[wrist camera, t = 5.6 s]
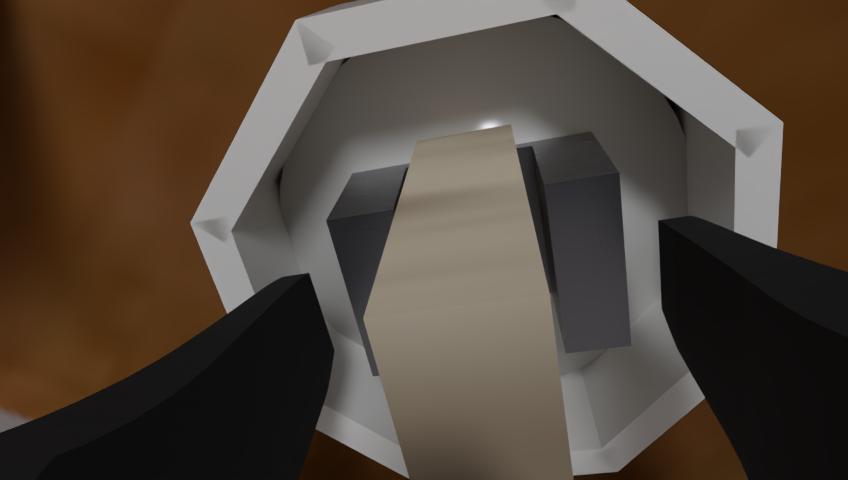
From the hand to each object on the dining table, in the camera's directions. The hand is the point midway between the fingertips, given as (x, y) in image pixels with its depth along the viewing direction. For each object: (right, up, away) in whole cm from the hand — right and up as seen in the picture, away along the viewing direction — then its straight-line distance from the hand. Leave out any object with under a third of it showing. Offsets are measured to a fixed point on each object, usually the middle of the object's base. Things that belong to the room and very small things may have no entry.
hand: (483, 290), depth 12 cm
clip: (0, +2, +3) cm, 4 cm away
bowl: (0, +2, +3) cm, 4 cm away
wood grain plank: (0, +1, +2) cm, 3 cm away
